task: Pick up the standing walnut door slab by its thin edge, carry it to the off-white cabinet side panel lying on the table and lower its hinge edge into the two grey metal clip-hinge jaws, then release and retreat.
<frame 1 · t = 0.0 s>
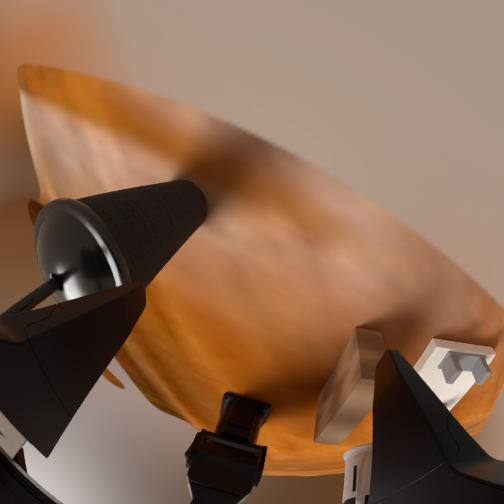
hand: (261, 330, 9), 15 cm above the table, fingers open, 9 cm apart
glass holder: (365, 447, 34), on the table
side panel: (440, 378, 25), on the table
drinking cup: (183, 205, 24), on the table
door: (347, 368, 27), on the table
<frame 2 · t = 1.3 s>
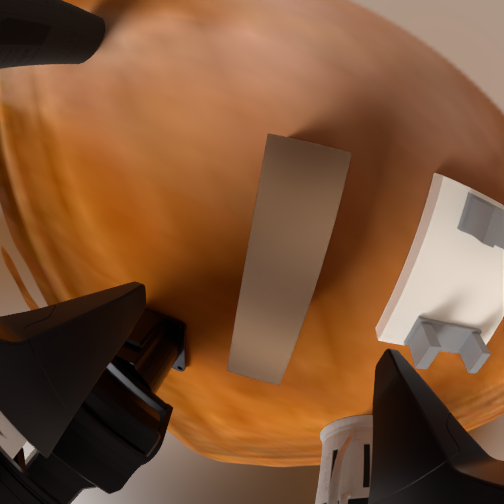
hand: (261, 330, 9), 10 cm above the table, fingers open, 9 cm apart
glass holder: (352, 422, 24), on the table
side panel: (464, 275, 15), on the table
drinking cup: (87, 40, 14), on the table
door: (292, 234, 18), on the table
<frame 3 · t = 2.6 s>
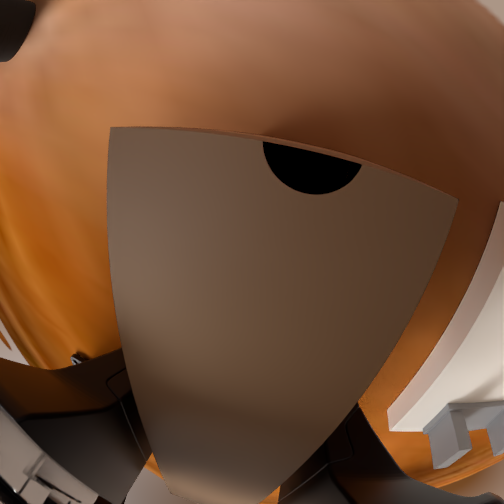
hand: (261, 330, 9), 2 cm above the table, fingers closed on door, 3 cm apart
drinking cup: (19, 31, 8), on the table
door: (270, 301, 11), on the table, touching gripper
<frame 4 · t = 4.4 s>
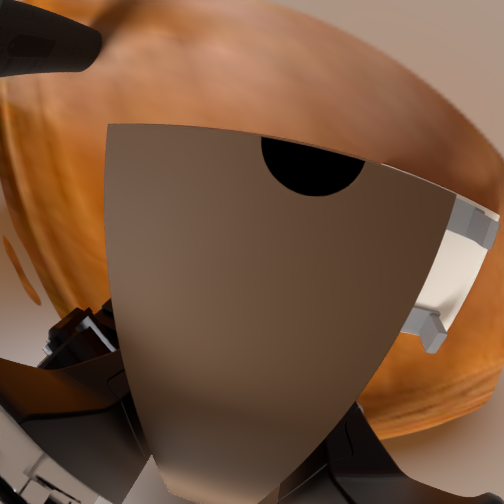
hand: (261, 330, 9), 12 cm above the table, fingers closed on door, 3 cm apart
side panel: (419, 259, 19), on the table
drinking cup: (86, 50, 17), on the table
door: (269, 300, 11), point 10 cm above the table, touching gripper
when the fingers open (5 cm above the table, at t = 6.3 s): door drops 1 cm, resting on side panel.
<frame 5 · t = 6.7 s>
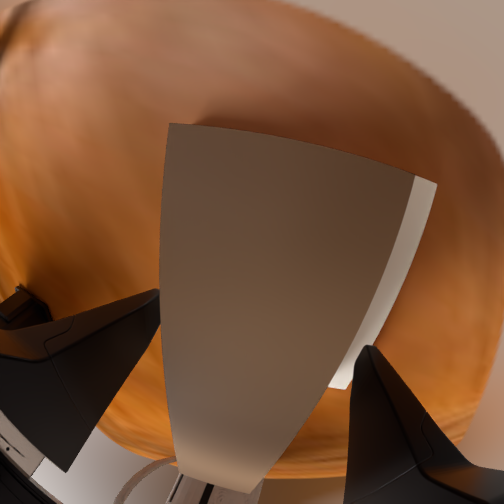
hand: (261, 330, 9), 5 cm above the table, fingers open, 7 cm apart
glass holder: (219, 434, 22), on the table
side panel: (281, 267, 13), on the table
door: (275, 285, 12), point 2 cm above the table, touching side panel
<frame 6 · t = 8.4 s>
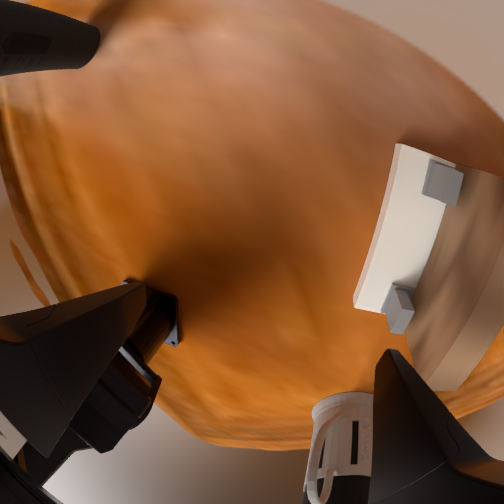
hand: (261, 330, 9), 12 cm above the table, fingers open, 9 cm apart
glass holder: (342, 399, 26), on the table
side panel: (439, 243, 17), on the table
drinking cup: (85, 47, 17), on the table
door: (448, 253, 15), point 2 cm above the table, touching side panel
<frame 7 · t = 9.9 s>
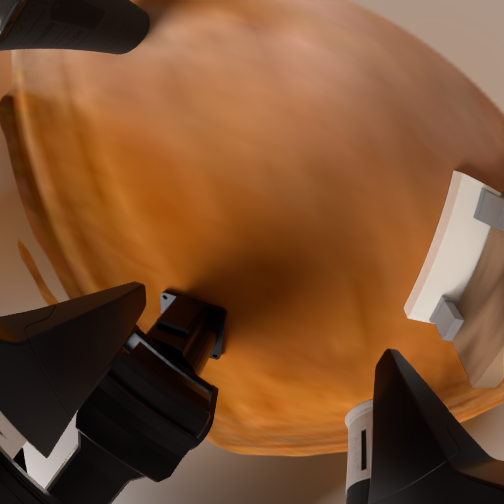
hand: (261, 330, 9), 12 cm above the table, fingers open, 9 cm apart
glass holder: (376, 404, 25), on the table
side panel: (478, 260, 17), on the table
drinking cup: (128, 31, 16), on the table
door: (488, 269, 15), point 2 cm above the table, touching side panel
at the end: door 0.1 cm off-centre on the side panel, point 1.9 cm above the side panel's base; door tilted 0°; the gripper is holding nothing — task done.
